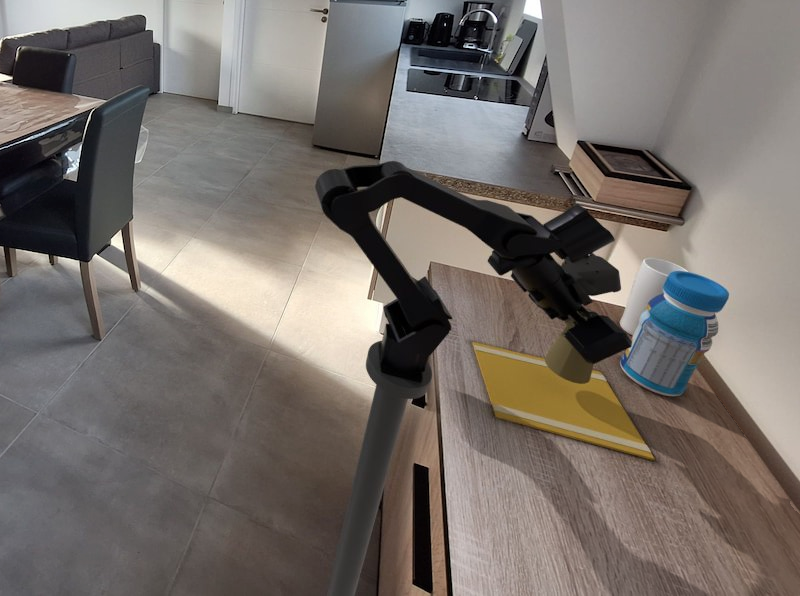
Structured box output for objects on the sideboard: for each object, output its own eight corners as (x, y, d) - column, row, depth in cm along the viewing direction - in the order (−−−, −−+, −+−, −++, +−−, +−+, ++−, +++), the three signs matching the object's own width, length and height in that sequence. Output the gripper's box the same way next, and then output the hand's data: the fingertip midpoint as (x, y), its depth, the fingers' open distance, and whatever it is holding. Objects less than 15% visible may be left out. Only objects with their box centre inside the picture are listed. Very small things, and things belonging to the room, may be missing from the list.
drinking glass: (649, 349, 85) (682, 283, 79) (606, 324, 90) (635, 261, 85) (667, 338, 87) (700, 274, 82) (624, 315, 93) (653, 254, 88)
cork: (563, 351, 78) (585, 299, 74) (599, 380, 72) (626, 326, 68) (535, 356, 76) (557, 304, 72) (570, 386, 71) (596, 331, 67)
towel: (495, 417, 70) (496, 414, 70) (472, 343, 84) (472, 341, 84) (653, 460, 64) (655, 458, 64) (600, 373, 79) (601, 371, 79)
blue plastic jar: (631, 389, 76) (680, 292, 69) (609, 352, 83) (651, 261, 76) (695, 406, 73) (754, 307, 66) (666, 367, 81) (716, 274, 74)
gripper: (645, 285, 57) (699, 361, 61) (551, 213, 75) (597, 275, 78) (559, 328, 61) (615, 397, 64) (489, 249, 78) (535, 307, 81)
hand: (589, 338), depth 72 cm, fingers closed on cork, 5 cm apart
